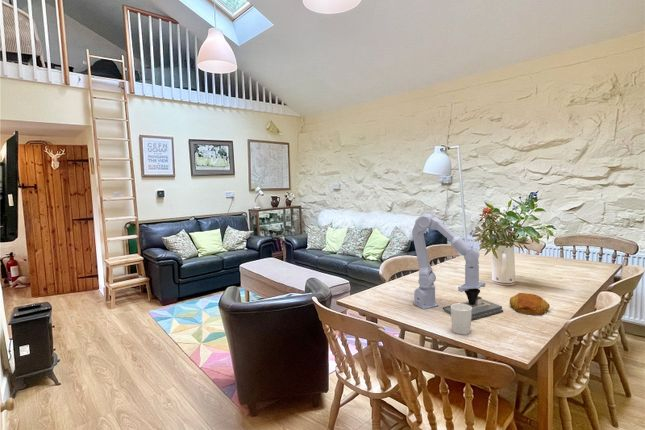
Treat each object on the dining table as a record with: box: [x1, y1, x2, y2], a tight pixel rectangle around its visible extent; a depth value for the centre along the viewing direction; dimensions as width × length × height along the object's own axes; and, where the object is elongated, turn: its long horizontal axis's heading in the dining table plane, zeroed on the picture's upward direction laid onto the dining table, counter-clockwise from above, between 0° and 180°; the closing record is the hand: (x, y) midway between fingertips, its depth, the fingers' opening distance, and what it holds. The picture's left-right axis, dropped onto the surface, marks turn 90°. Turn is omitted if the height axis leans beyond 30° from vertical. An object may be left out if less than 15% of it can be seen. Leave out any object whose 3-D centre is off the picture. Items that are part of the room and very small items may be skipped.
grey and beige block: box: [471, 295, 483, 307], centre depth 160 cm, size 2×4×4 cm
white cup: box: [450, 302, 473, 336], centre depth 139 cm, size 8×8×10 cm
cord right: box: [471, 309, 504, 322], centre depth 153 cm, size 20×1×1 cm, turn 114°
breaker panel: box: [443, 298, 503, 318], centre depth 160 cm, size 24×11×3 cm, turn 114°
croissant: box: [509, 292, 551, 316], centre depth 158 cm, size 14×16×8 cm
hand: (471, 304), depth 159 cm, fingers closed
